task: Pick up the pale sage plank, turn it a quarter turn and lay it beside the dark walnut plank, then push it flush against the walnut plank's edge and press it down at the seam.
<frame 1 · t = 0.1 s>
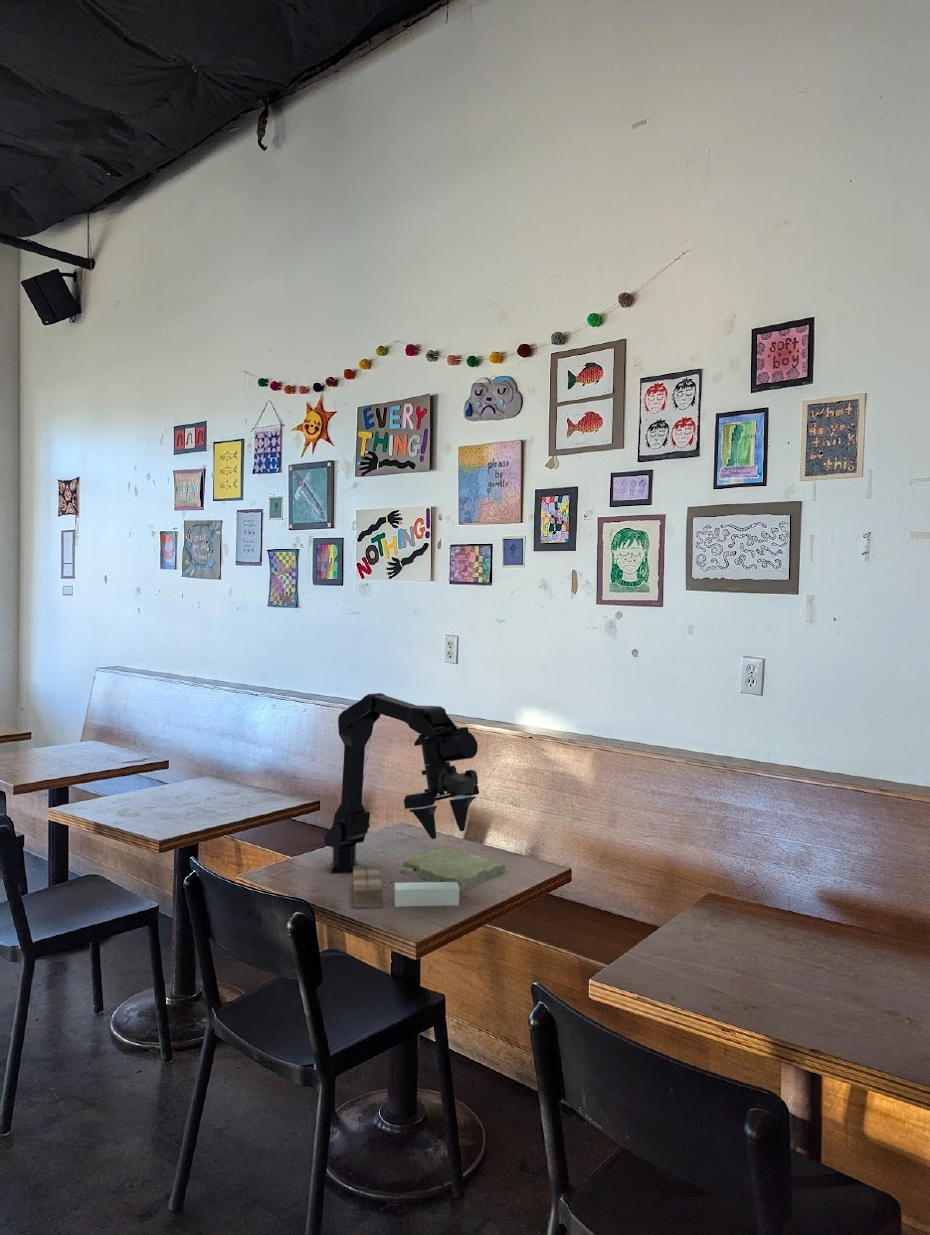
hand: (448, 835, 187), 15 cm above the table, tool pointing down, fingers open, 9 cm apart
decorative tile: (451, 876, 209), on the table
sage plank: (426, 903, 189), on the table
walnut plank: (366, 895, 193), on the table
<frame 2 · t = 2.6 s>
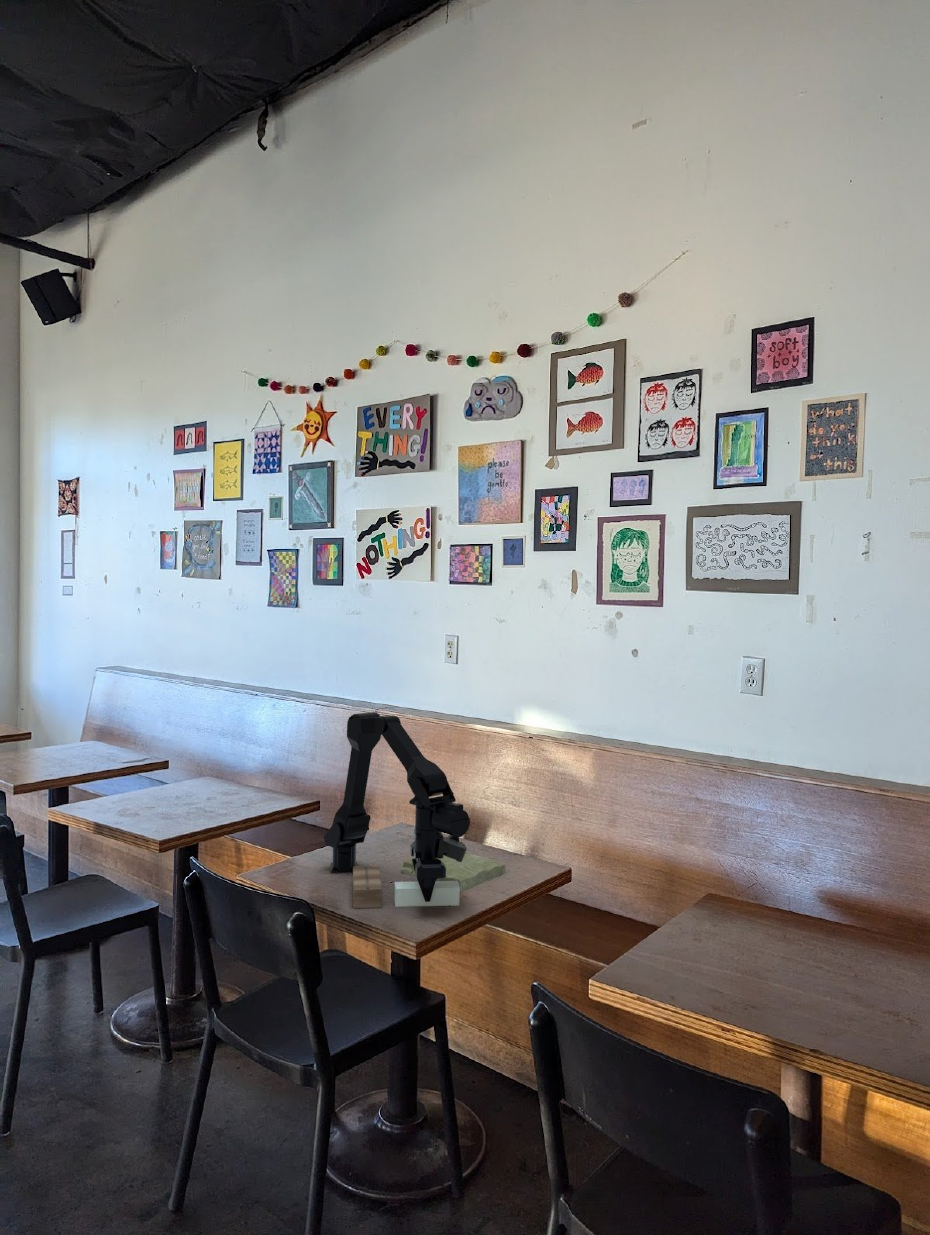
hand: (426, 897, 189), 1 cm above the table, tool pointing down, fingers closed on sage plank, 4 cm apart
sage plank: (426, 902, 189), on the table, touching gripper
everything else where it was.
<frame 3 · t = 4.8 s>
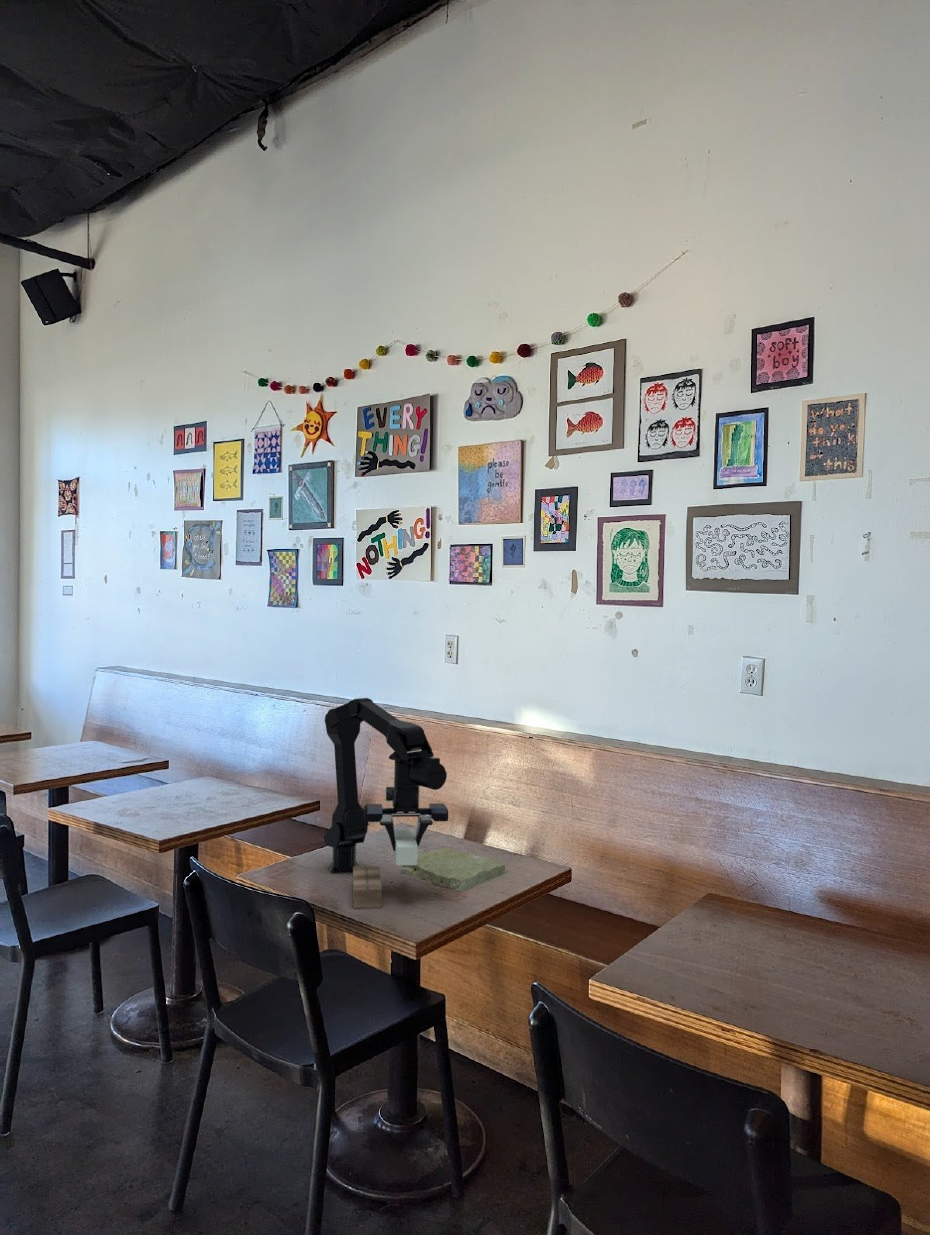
hand: (405, 850, 194), 10 cm above the table, tool pointing down, fingers closed on sage plank, 4 cm apart
sage plank: (404, 855, 194), point 9 cm above the table, touching gripper
everything else where it was.
when the fingers open (2 cm above the table, at t = 6.4 s): sage plank drops 2 cm, on the table.
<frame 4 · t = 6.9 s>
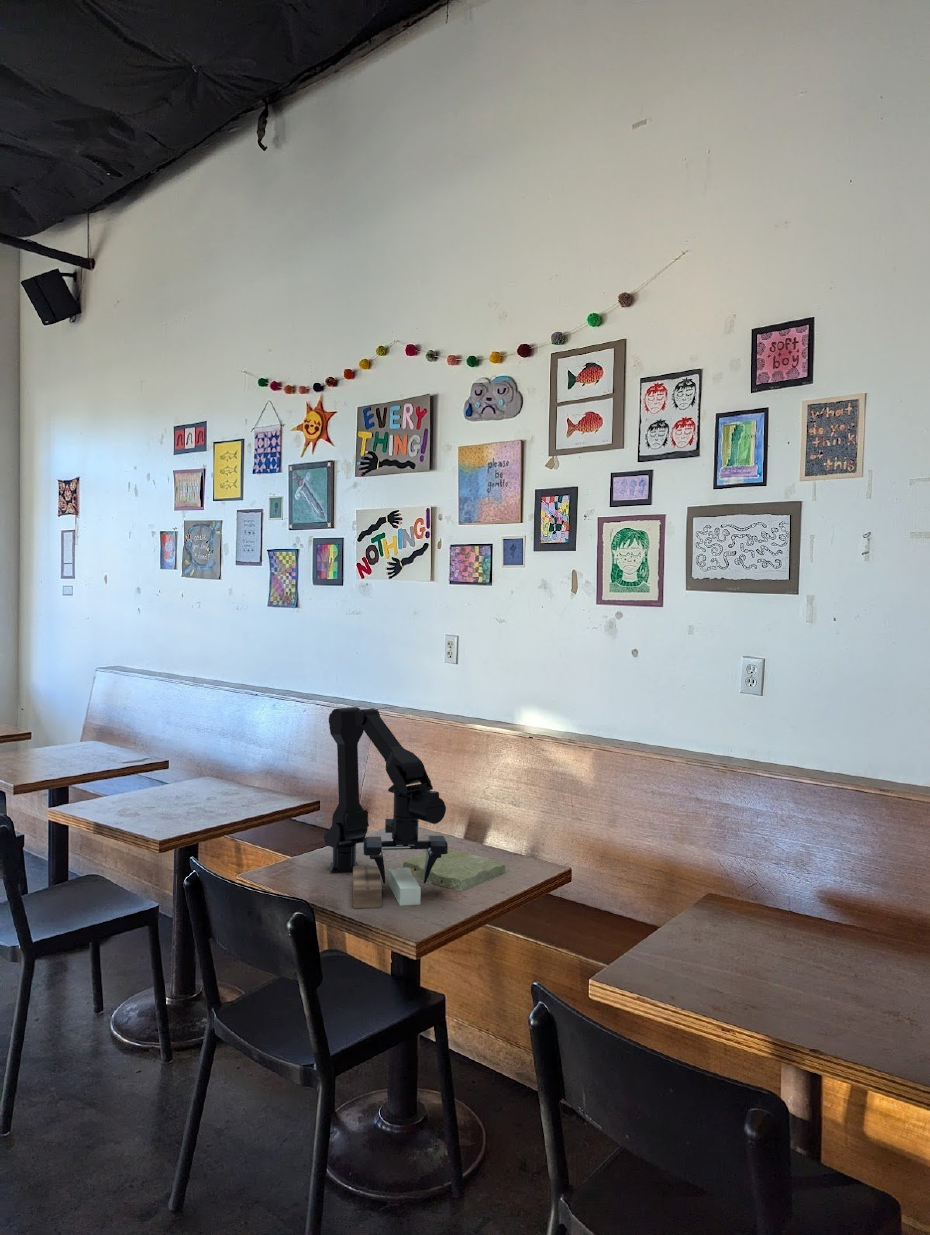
hand: (404, 883, 194), 2 cm above the table, tool pointing down, fingers open, 9 cm apart
sage plank: (404, 895, 194), on the table
everything else where it was.
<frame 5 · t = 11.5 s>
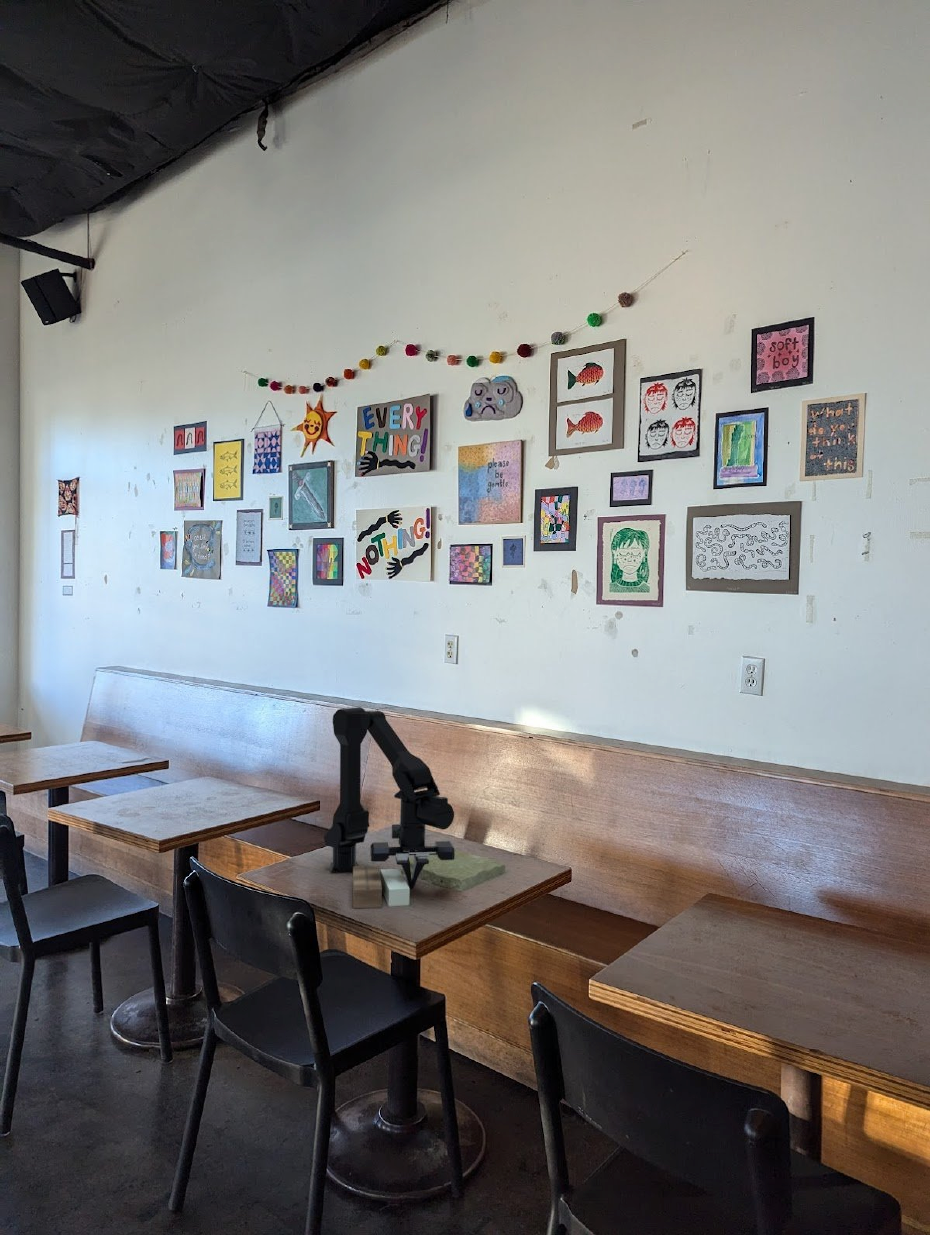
hand: (411, 888, 194), 1 cm above the table, tool pointing down, fingers closed
sage plank: (393, 896, 193), on the table, touching gripper
everything else where it was.
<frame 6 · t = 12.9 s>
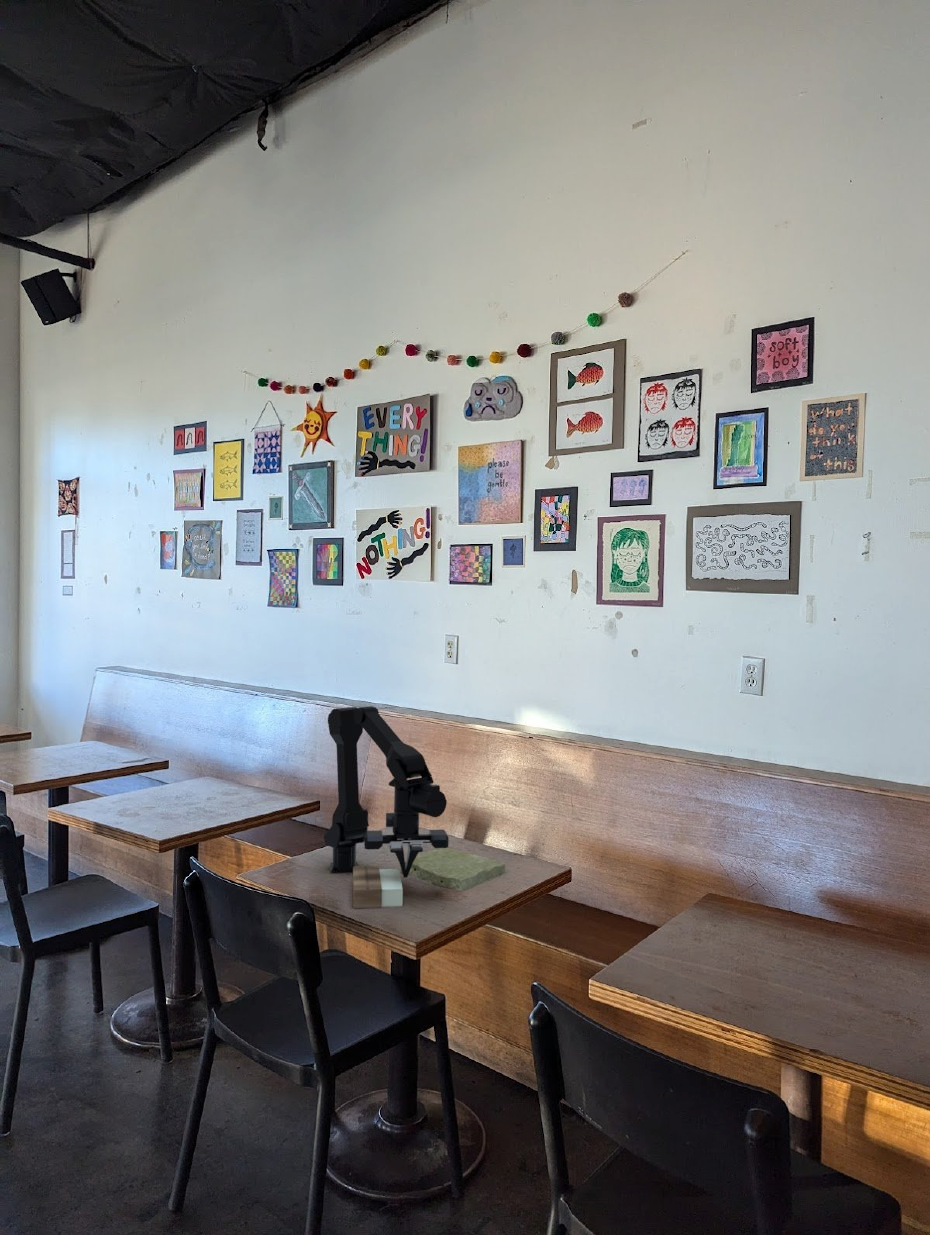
hand: (405, 877, 194), 4 cm above the table, tool pointing down, fingers closed
sage plank: (390, 896, 193), on the table
everything else where it was.
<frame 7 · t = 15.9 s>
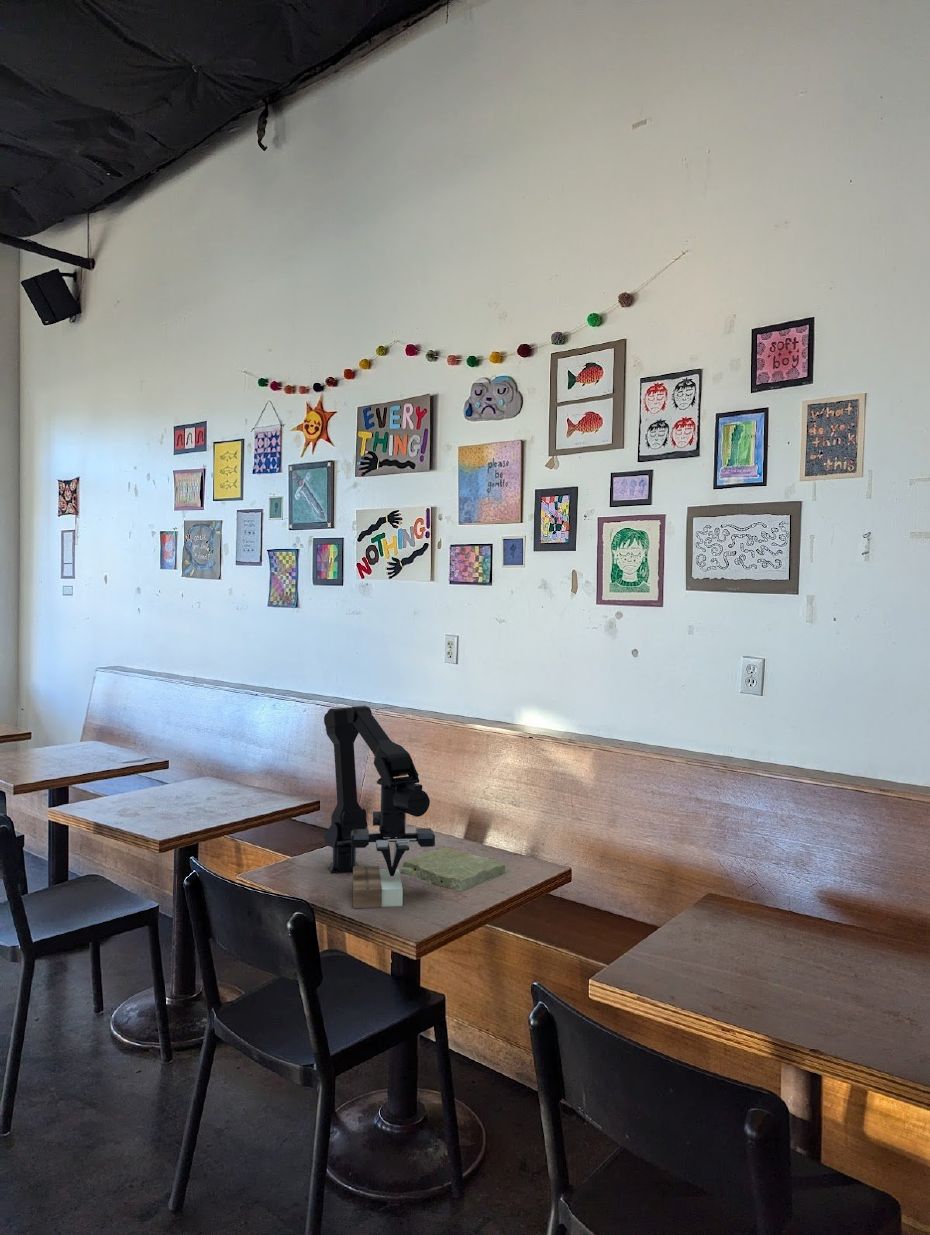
hand: (391, 875, 193), 4 cm above the table, tool pointing down, fingers closed
nothing on the table moved.
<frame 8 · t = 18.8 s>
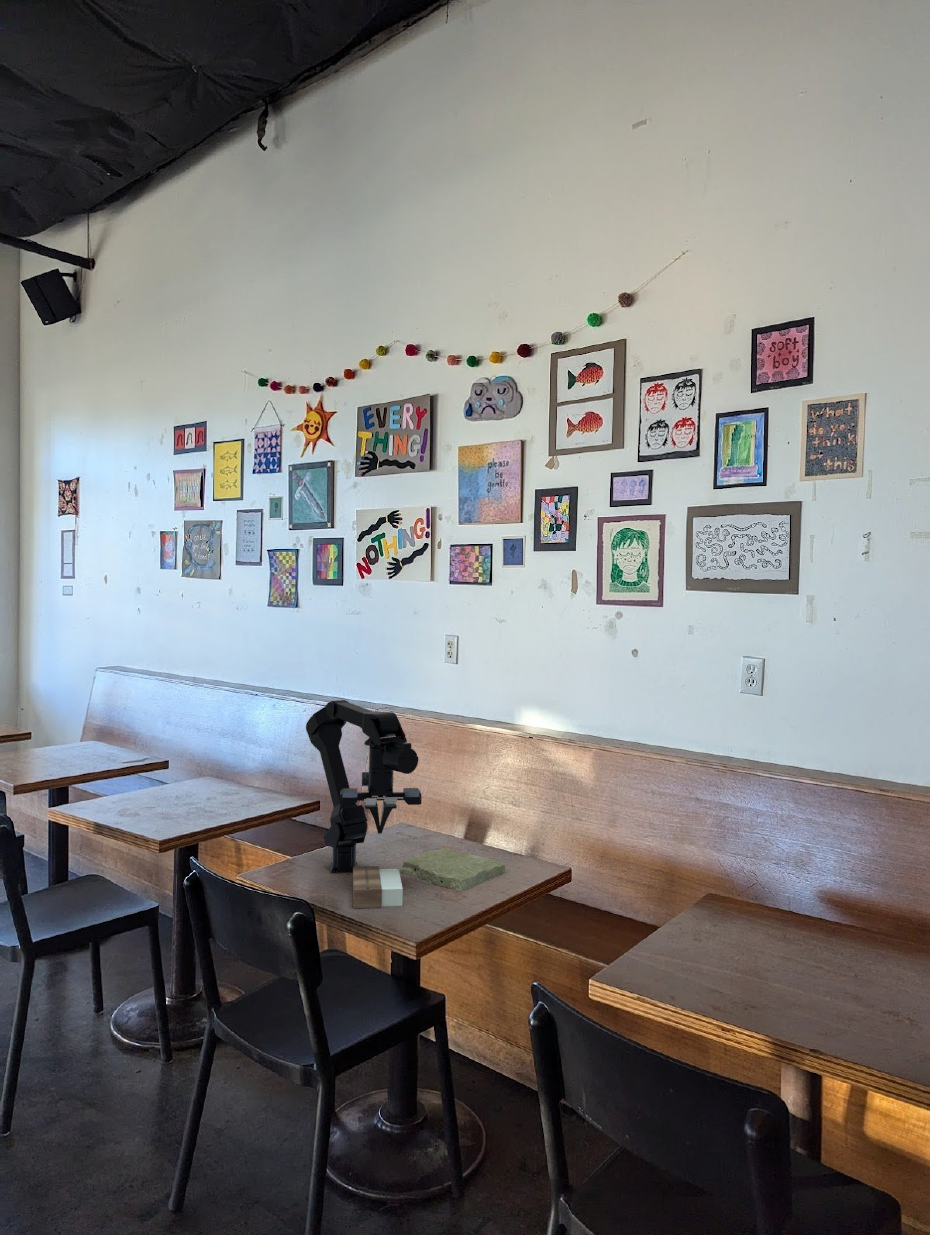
hand: (379, 833, 200), 12 cm above the table, tool pointing down, fingers closed
nothing on the table moved.
at the end: sage plank 0.4 cm from the target spot on the table beside the walnut plank, on the table; sage plank moved 9.3 cm from its start; sage plank tilted 0° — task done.
